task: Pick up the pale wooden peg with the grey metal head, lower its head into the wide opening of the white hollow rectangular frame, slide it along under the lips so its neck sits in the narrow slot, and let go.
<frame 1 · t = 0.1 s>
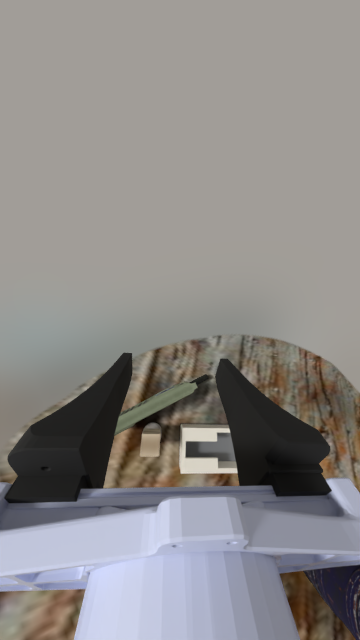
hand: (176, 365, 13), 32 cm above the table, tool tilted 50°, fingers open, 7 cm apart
white hollow rectangular frame: (210, 443, 39), on the table
storage jar: (318, 552, 34), on the table
handheld radio: (163, 397, 42), on the table
keyhole peg: (152, 432, 38), on the table
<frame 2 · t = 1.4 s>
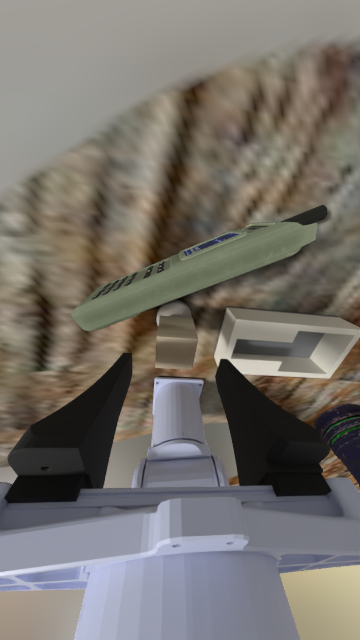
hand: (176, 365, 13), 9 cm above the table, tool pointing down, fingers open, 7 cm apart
white hollow rectangular frame: (268, 336, 24), on the table
storage jar: (337, 417, 35), on the table
handheld radio: (199, 258, 19), on the table
keyhole peg: (174, 315, 22), on the table
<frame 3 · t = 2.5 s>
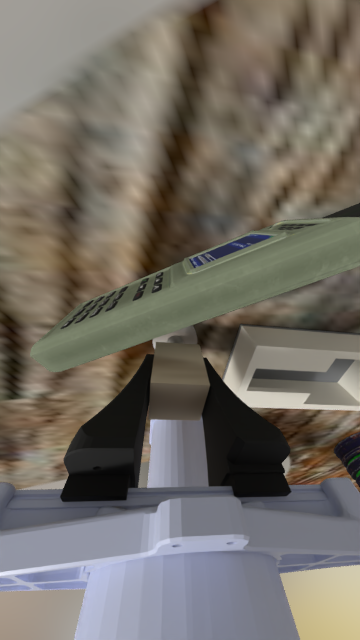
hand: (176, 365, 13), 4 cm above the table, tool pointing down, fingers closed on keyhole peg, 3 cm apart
white hollow rectangular frame: (290, 358, 19), on the table
handheld radio: (208, 267, 15), on the table
keyhole peg: (174, 335, 17), on the table, touching gripper
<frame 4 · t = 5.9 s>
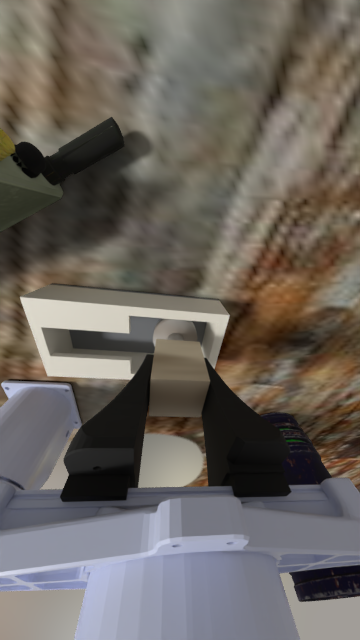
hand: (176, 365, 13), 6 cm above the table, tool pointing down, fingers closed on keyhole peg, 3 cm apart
white hollow rectangular frame: (133, 326, 18), on the table
storage jar: (267, 428, 29), on the table
keyhole peg: (175, 333, 17), point 1 cm above the table, touching gripper
when the fingers open (6 cm above the table, at t = 9.5 s): keyhole peg stays where it is, resting on white hollow rectangular frame.
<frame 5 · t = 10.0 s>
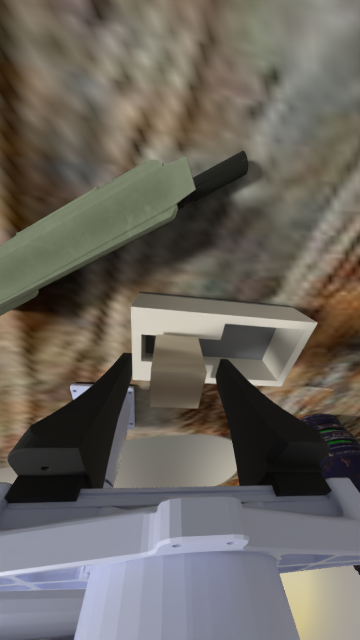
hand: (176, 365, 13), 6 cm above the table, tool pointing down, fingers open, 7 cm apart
white hollow rectangular frame: (205, 331, 19), on the table
storage jar: (309, 429, 30), on the table
handheld radio: (99, 242, 14), on the table
keyhole peg: (174, 330, 18), resting on white hollow rectangular frame
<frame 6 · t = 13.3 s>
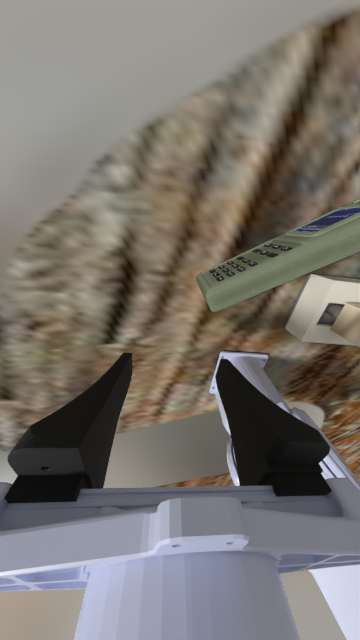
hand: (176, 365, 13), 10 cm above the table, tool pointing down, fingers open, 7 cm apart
white hollow rectangular frame: (342, 306, 23), on the table
handheld radio: (295, 239, 19), on the table
keyhole peg: (323, 304, 23), resting on white hollow rectangular frame
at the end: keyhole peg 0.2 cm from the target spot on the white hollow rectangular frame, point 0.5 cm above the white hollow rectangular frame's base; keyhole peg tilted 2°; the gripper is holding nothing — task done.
